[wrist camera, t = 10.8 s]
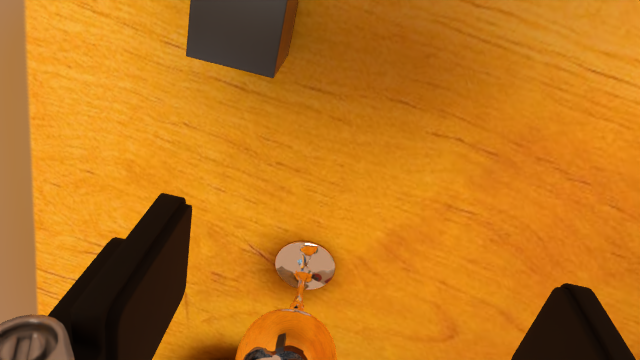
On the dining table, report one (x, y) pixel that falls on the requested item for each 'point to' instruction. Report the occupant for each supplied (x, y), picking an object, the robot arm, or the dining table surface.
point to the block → (242, 33)
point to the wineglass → (293, 311)
